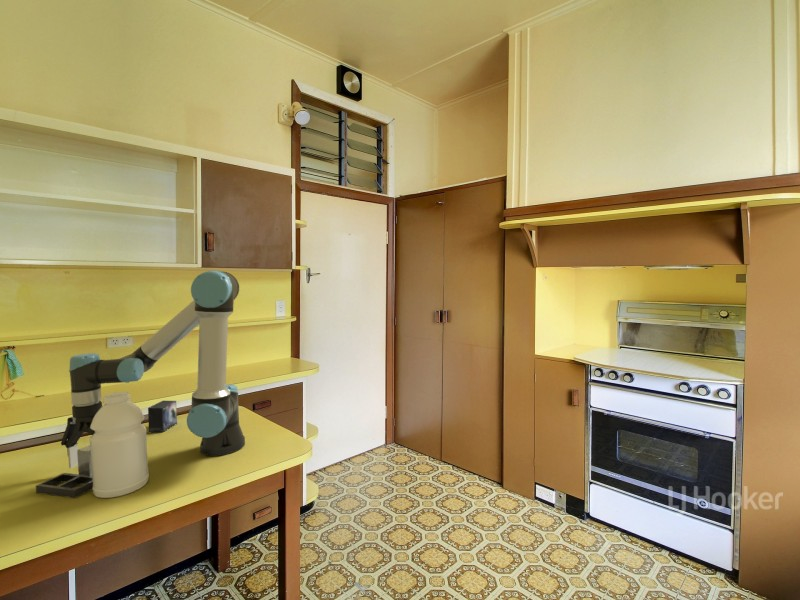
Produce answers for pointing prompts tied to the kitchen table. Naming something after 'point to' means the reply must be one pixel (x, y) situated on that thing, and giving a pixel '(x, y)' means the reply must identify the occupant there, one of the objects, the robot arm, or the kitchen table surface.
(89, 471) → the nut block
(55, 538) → the kitchen table surface
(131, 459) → the bottle
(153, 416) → the small box
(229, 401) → the robot arm
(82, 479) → the divided tray
